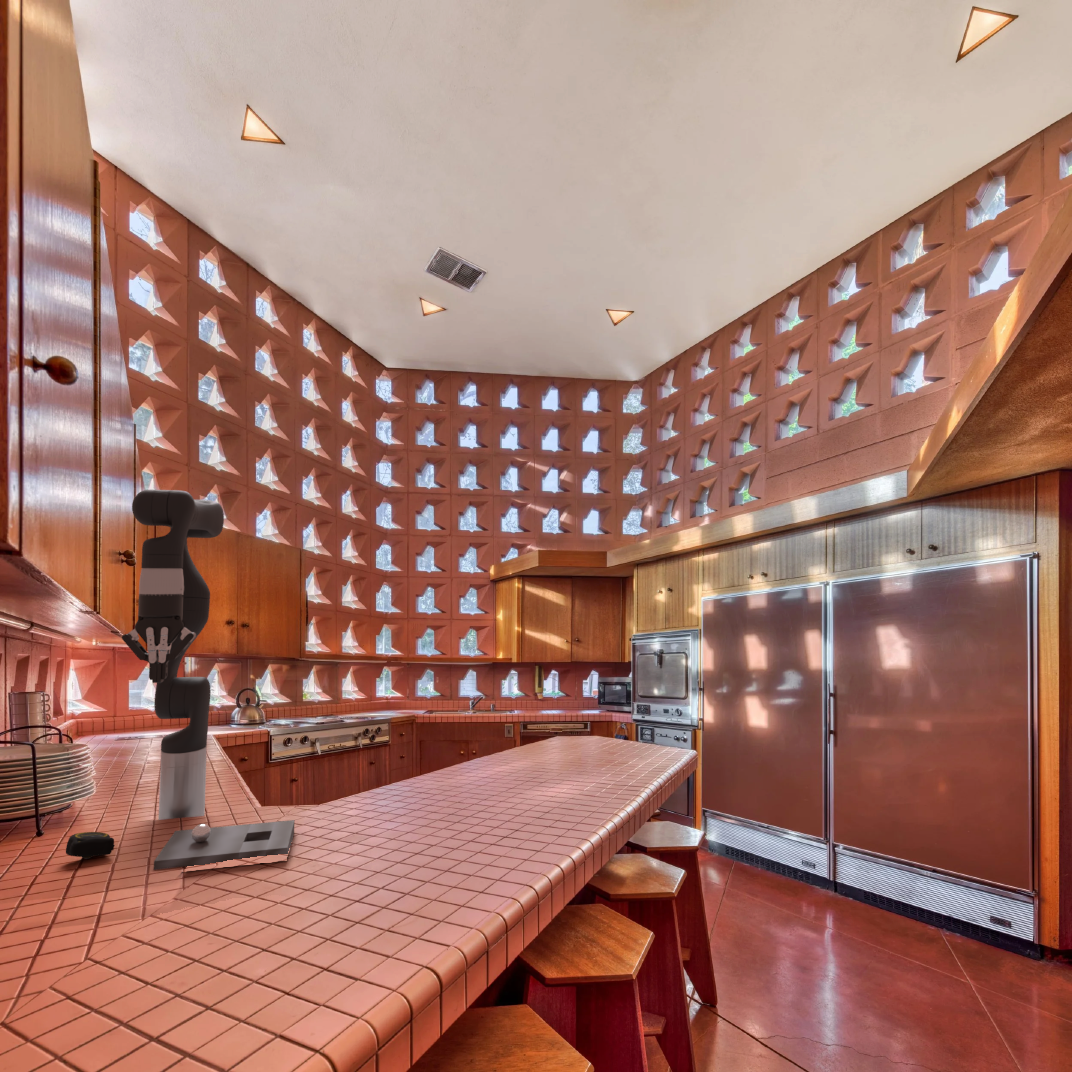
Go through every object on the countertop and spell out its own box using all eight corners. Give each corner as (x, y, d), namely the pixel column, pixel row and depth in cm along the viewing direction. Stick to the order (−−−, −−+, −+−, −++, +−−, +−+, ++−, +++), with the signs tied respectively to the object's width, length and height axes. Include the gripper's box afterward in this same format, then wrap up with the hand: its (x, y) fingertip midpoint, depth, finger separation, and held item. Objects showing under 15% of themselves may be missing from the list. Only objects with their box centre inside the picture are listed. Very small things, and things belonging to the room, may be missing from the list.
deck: (153, 875, 114) (154, 861, 114) (174, 843, 128) (175, 830, 128) (287, 861, 120) (287, 847, 120) (294, 832, 133) (294, 819, 134)
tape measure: (68, 862, 116) (73, 839, 117) (60, 854, 121) (65, 832, 122) (111, 859, 121) (116, 837, 122) (102, 851, 126) (107, 830, 127)
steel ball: (190, 840, 123) (190, 823, 123) (208, 836, 125) (209, 819, 125) (192, 846, 120) (193, 828, 120) (211, 842, 122) (212, 825, 122)
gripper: (116, 592, 121) (112, 686, 120) (194, 592, 125) (191, 683, 124) (129, 591, 128) (126, 680, 127) (203, 591, 132) (200, 677, 131)
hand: (158, 682), depth 126 cm, fingers closed
